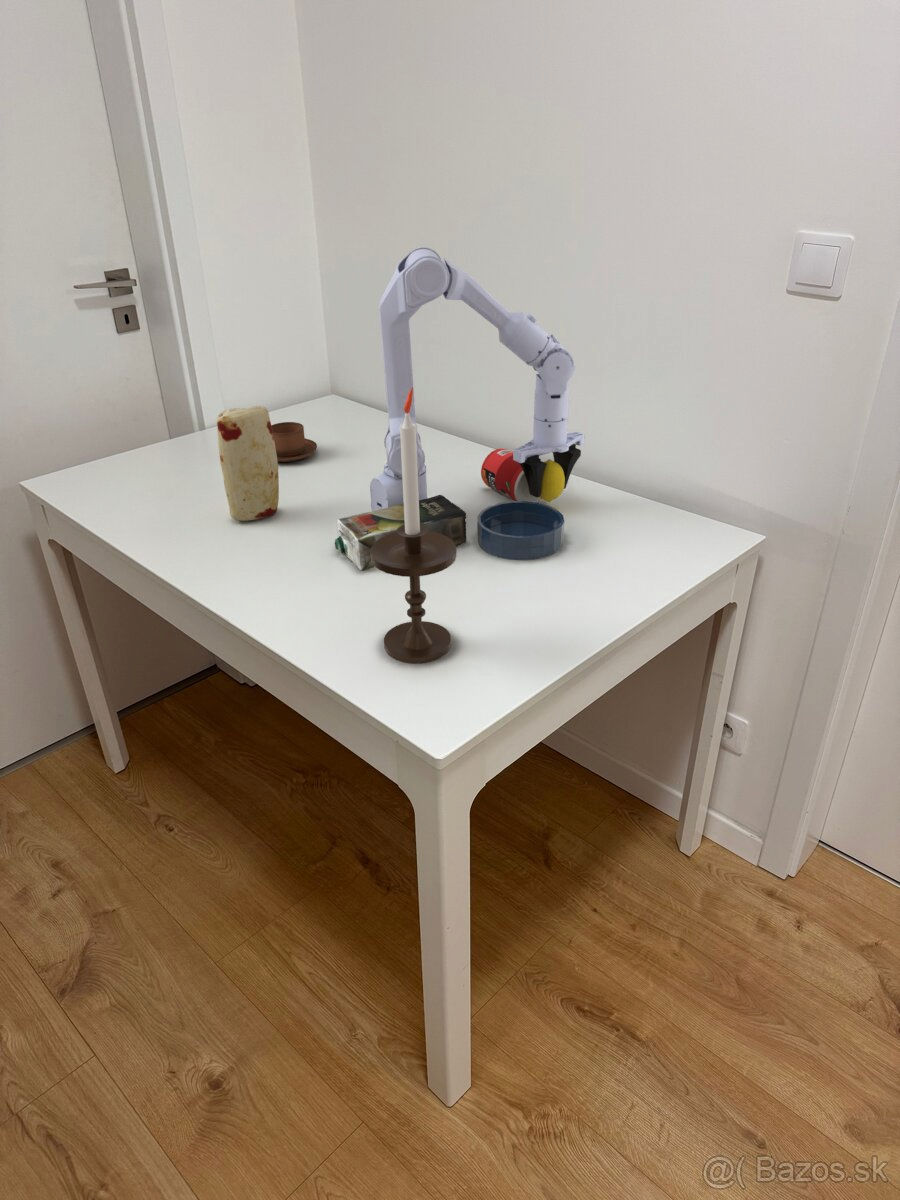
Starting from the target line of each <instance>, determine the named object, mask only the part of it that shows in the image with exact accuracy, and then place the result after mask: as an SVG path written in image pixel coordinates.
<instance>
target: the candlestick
mask: <svg viewBox="0 0 900 1200" xmlns="http://www.w3.org/2000/svg"><path fill="white" fill-rule="evenodd" d="M413 387H414V386H413ZM413 387H411V391H410V392H409V393H408V395H407V401H406V402H405V407H404V411H405V413H406V414H405V419H404V423H403V424H402V425H400V439H401V459H402V479H403V499H404V519H405V525H402V526H400V527H399V528H398V529H397V532H396V533H392V534H389V535H386V536H384V537H382V538H380V539H379V540H377V541H376V542H375V543H374V544H373V545H372V547H371V551H370V554H371V561H372V564H373V565H374V568H376V569H377V570H379V571H381V572H383V573H385V574H388V575H392V576H396V577H397V576H398V577H407V578H409V590H407V591H405V594H404V599H405V601H406V603H407V604H408V605H409V608H408V609H407V610H406V615H407V617H409V618H411V620H410V621H408V622H407V621H406V622H403V623H400V624H397V625H396V626H394V627H391V629H389V630H388V631H387V632H386V634H385V635H384V637H383V648H384V651H385V653H386V654H387V656H388V657H390V658H391V659H393V660H396V661H398V662H401V663H405V664H426V663H431V662H434V661H437V660H439V659H441V658H443V657H444V656H446V654H448V653H449V652H450V650H451V647H452V635H451V633H450V632H449V630H448V629H447V628H446V627H444V626H443V625H441V624H438V623H436V622H431V621H426V620H425V621H423V619H422V618H423V617H424V616H425V615H426V609H425V608H424V607H423V604H424V603H425V601H426V600H427V593H426V592H425V591H424V590H422V589H421V577H423V576H424V577H425V576H429V575H434V574H437V573H440V572H442V571H444V570H447V569H448V568H450V567H451V566H452V565H453V564H454V563H455V561H456V559H457V546H456V545H455V543H454V541H452V540H451V539H450V538H449V537H447V536H445V535H442V534H440V533H436V532H431V531H428V528H427V527H426V526H425V525H422V524H420V518H419V493H418V468H417V443H416V425H417V424H416V425H415V424H412V422H411V419H410V414H408V413H409V412H410V408H411V404H412V397H413Z"/></svg>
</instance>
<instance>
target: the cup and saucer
mask: <svg viewBox="0 0 900 1200" xmlns="http://www.w3.org/2000/svg"><path fill="white" fill-rule="evenodd" d="M271 427H272V431H273V436H274V442H275V448H276V455H277V462H278V463H280V462H281V463H287V462H296V461H301V460H304V459H306V458H308V457H310V456H312V455H313V454H314V453H315V452H316V451H317V449H318V443H316V441H314V440H313V439H310V438H306V437H305V429H304V427H305V426H304V425H303V424H302V423H300V422H296V421H283V422H277V423H274V424H271Z"/></svg>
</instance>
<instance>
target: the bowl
mask: <svg viewBox="0 0 900 1200" xmlns="http://www.w3.org/2000/svg"><path fill="white" fill-rule="evenodd" d="M564 538H565V517H564V514H562V513H561V511H559V510H558V509H557V508H555V507H553V506H550V505H548V504H546V503H545V504H544V503H541V502H528V501H514V500H512V501H503V502H498V503H494V504H492V505H489V506H487V507H485V508H483V509H482V510H481V511H480V512H479V513H478V515H477V516H476V541H477V544H478V547H479V548H480V549H481V550H482V551H483V552H485V553H486V554H489V555H491V556H493V557H495V558H500V559H505V560H511V561H530V560H539V559H543V558H546V557H549V556H552V555H553V554H555V553H557V552H558V551H560V549H561V548H562V547H563V544H564V540H565V539H564Z"/></svg>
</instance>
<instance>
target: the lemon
mask: <svg viewBox="0 0 900 1200" xmlns="http://www.w3.org/2000/svg"><path fill="white" fill-rule="evenodd" d="M544 462H545V463H547V466H546V468H545V471H544V474H543V478H542V488H541V495H540V498H542V499H541V500H544V501H545V502H546V503H550V502H552V501H553V500H556V499H558V498H559V497H560V496H561V495H562V493H563V492H564V490H565V489H564V485H565V476H564V472H563V469H562V467H561V466H560V465H559V464H558V463H556V462H554V460H552V459H546V460H545V461H544Z"/></svg>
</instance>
